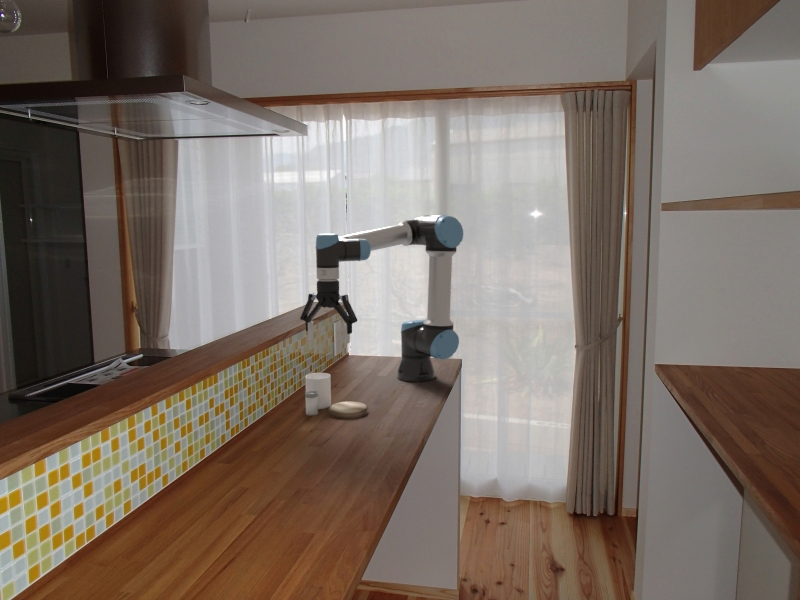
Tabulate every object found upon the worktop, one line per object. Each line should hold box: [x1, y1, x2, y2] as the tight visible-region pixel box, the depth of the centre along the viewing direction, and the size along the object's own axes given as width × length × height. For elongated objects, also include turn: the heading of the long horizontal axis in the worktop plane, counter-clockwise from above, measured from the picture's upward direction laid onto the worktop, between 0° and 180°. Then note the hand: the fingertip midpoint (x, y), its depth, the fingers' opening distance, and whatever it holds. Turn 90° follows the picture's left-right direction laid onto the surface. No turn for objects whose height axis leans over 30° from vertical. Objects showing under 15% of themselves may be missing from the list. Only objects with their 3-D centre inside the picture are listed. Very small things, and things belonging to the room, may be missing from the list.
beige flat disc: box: [328, 400, 369, 420], centre depth 219 cm, size 13×13×2 cm
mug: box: [304, 372, 332, 410], centre depth 228 cm, size 9×12×11 cm
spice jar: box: [304, 391, 319, 416], centre depth 218 cm, size 4×4×7 cm
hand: (328, 342), depth 223 cm, fingers open, 13 cm apart
